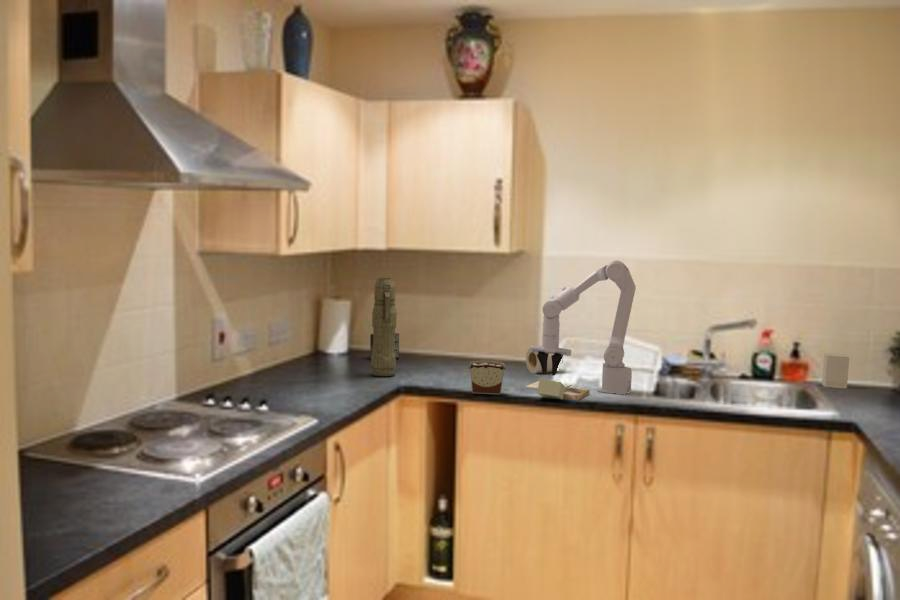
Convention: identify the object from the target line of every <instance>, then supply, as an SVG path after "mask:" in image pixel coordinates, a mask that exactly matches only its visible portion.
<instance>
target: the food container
mask: <svg viewBox="0 0 900 600" xmlns="http://www.w3.org/2000/svg"><path fill="white" fill-rule="evenodd" d="M467 369H468V370H469V369H470V371H469V372H470V380H471V381H470V383H471V393H472V394H481V395H482V394H483V395H484V394H485V395H487V394H488V395H501V394H502V387H503V382H504V381H503V380H504V374H505V373H504V372H505V371H507V368H506V364H505V363H504V362H501V361H493V360H475V361H471V362H470V363H469V365H468V368H467Z"/></svg>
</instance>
